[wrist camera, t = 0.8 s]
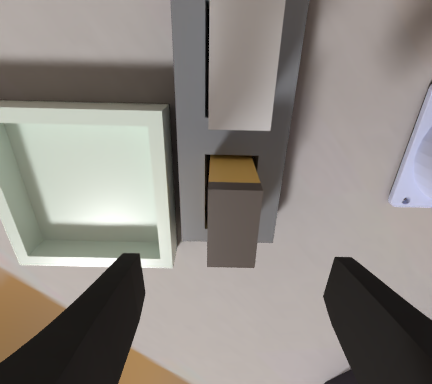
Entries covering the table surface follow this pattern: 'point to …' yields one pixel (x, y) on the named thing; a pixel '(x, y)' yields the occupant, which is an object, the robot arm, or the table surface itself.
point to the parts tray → (87, 182)
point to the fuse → (243, 62)
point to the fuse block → (228, 139)
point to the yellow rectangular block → (233, 211)
